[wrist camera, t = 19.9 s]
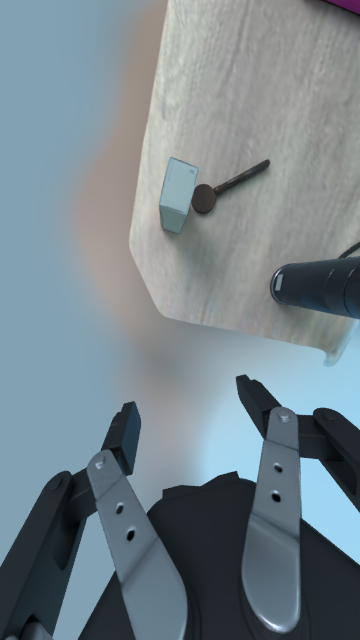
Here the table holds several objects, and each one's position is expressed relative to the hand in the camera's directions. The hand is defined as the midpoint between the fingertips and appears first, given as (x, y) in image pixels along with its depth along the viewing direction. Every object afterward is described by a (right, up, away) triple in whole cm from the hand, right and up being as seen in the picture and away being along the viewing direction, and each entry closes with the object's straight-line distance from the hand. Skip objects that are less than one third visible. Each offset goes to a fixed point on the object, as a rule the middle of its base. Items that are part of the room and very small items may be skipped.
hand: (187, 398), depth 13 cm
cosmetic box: (-2, +28, +22) cm, 36 cm away
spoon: (+10, +34, +22) cm, 41 cm away
